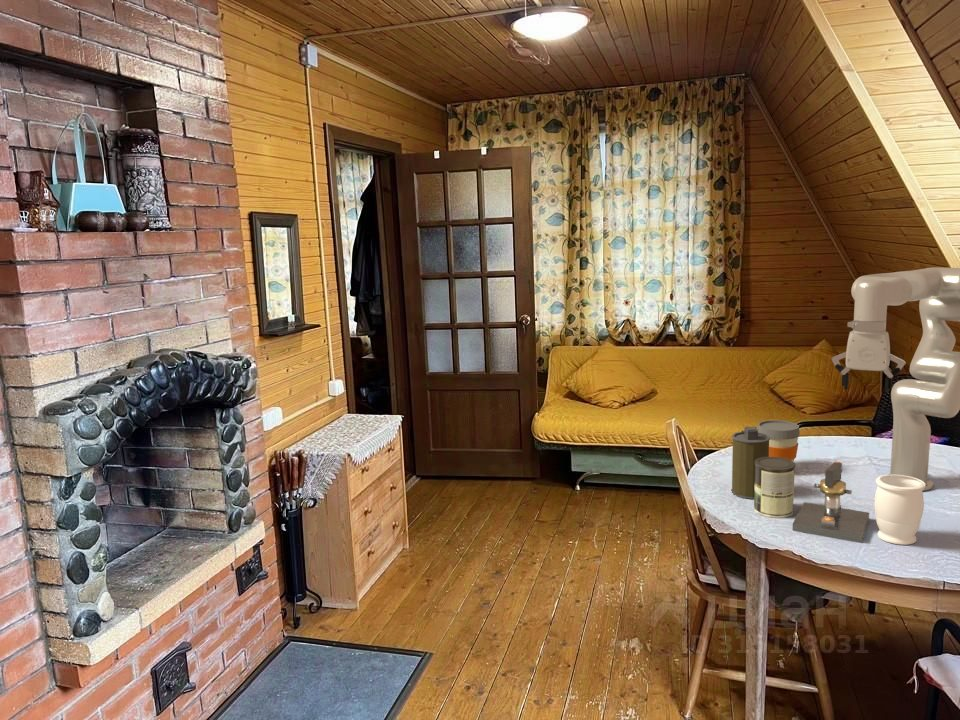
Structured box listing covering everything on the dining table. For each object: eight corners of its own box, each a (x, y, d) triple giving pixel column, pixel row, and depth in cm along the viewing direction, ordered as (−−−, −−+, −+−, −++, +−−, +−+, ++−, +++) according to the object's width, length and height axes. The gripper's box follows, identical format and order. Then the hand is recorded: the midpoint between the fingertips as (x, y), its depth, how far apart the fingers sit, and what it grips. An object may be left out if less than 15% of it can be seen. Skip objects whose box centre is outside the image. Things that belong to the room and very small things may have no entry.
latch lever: (810, 492, 188) (811, 466, 186) (819, 483, 193) (820, 458, 192) (846, 499, 182) (848, 473, 181) (855, 490, 187) (856, 464, 186)
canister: (773, 498, 208) (775, 432, 204) (737, 499, 209) (738, 433, 205) (761, 485, 219) (762, 421, 215) (726, 486, 219) (727, 423, 216)
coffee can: (745, 509, 202) (746, 460, 200) (771, 501, 207) (772, 454, 204) (775, 521, 193) (776, 471, 191) (801, 513, 198) (803, 463, 195)
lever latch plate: (803, 509, 200) (805, 478, 198) (869, 519, 191) (870, 487, 190) (792, 530, 187) (793, 497, 185) (861, 542, 178) (863, 508, 177)
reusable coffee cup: (760, 477, 226) (761, 430, 223) (752, 463, 238) (753, 420, 235) (803, 477, 224) (804, 430, 221) (792, 464, 236) (793, 419, 233)
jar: (904, 528, 185) (908, 472, 182) (930, 546, 175) (935, 487, 172) (864, 530, 185) (867, 475, 182) (887, 548, 175) (891, 489, 172)
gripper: (831, 327, 192) (828, 390, 195) (906, 330, 182) (902, 396, 186) (835, 323, 198) (832, 384, 201) (908, 326, 189) (904, 389, 192)
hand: (866, 390), depth 193 cm, fingers open, 9 cm apart
